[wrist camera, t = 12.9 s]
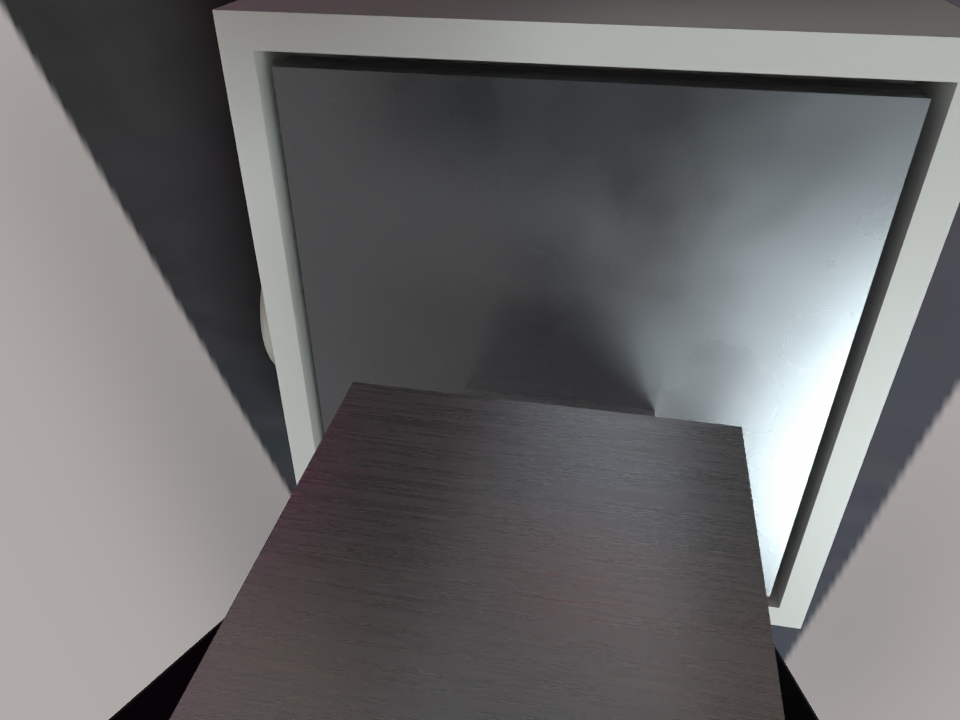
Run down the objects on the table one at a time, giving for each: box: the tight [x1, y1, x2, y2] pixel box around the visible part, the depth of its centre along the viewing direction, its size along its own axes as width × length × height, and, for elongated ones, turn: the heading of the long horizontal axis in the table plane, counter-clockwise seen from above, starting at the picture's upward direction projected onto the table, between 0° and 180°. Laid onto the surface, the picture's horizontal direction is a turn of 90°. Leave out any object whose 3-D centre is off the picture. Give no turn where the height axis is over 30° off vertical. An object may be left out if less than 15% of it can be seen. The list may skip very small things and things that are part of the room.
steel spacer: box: [169, 382, 785, 720], centre depth 8 cm, size 4×4×4 cm
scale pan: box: [272, 55, 931, 597], centre depth 18 cm, size 13×12×1 cm
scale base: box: [212, 0, 960, 629], centre depth 19 cm, size 15×14×4 cm
